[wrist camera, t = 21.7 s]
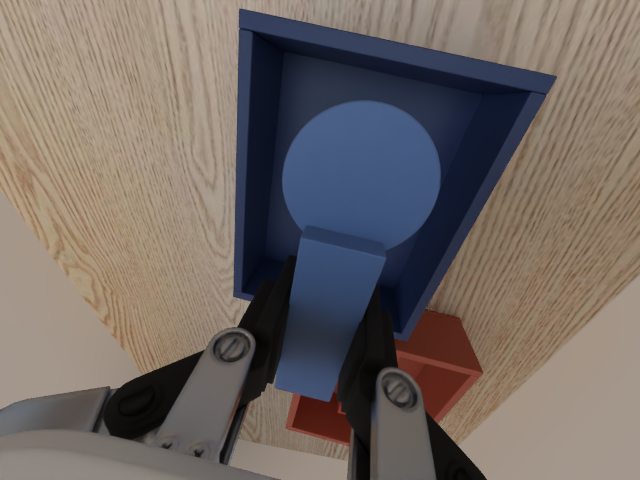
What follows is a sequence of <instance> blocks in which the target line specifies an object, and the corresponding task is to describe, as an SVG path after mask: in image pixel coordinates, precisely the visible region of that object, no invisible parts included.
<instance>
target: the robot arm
mask: <svg viewBox="0 0 640 480" xmlns="http://www.w3.org/2000/svg"><path fill="white" fill-rule="evenodd" d="M296 261H297V256H293V255H289V256H288V258H287V260H286V262H285V264H284V266H283V269H282V271H281V273H280V275H279V277H278V279H277V281H276V282H274V281H270V280H266V279H264V280H263V281H262V283H261V285H260V287H259V288H258V290H257V292H256V294H255V296H254V298H253V299H252V301H251V303H250V305H249V307H248V308H247V310H246V312H245V314H244V316H243V318H242V319H241V321H240V323H239V325H238V327H232V328H227V329H224V330H222V331H220V332H218V333H217V334H216V335H214V337H213V338H212V339H211V340H210V342H209V344H208V345H207V347H206V349H205V350H203V351H201V352H198V353H196V354H193V355H191V356H189V357H186V358H184V359H181V360H179V361H176V362H174V363H172V364H169V365H167V366H164V367H162V368H159V369H157V370H154V371H152V372H150V373H147V374H145V375H142V376H140V377H138V378H135V379H133V380H131V381H129V382H127V383H125V384H124V385H123V386H122V387H120V388H117V389H110V386H108V387H101V388H95V389H88V390H82V391H76V392H70V393H63V394H56V395H50V396H43V397H37V398H30V399H26V400H22V401H18V402H15V403H13V404H11V405H9V406H7V407H5V408H3V409H1V410H0V480H279V479H276V478H272V477H268V476H264V475H260V474H257V473H254V472H250V471H246V470H243V469H239V468H235V467H231V466H230V463H231V459H232V456H233V453H234V450H235V447H236V444H237V441H238V438H239V435H240V432H241V429H242V426H243V423H244V419H245V416H246V413H247V410H248V407H249V404H250V402H251V401H252V400H254V399H256V398H257V397H259V396H260V395H261V392H262V391H263V392H264V391H265V388H266V385H267V383H270V384H272V383H273V381H274V378H275V374H276V371H277V368H278V365H279V362H280V358H281V352H282V346H283V341H284V335H285V330H286V324H287V319H288V313H289V308H290V304H289V301H290V295H291V290H292V284H293V278H294V272H295V267H296ZM337 401H339V402H341V412H343V413H346V420H347V421H348V422H349V424H350V425H351V431H350V445H349V459H348V473H347V480H487V479H486V478H485V476H484V475H483V474H482V473H481V471H480V470H479V469H478V468H477V467H476V466H475V464H474V463H473V462H472V461H471V460H470V459H469V458H468V457H467V456H466V455H465V453H464V452H463V451H462V450H461V449H460V448H459V447H458V446H457V445H456V443H455V442H454V441H453V440H452V439H451V438H450V437H449V436H448V435H447V434H446V432H445V431H444V430H443V429H442V428H441V427H440V426H439V425H438V424H437V423H436V421H435V420H434V419H433V418H432V417H431V416H430V415H429V414H428V413H427V412H426V410H425V408H424V402H423V397H422V393H421V390H420V387H419V386H418V384H417V382H416V381H415V380H414V379H413V378H412V376H411V375H409V374H408V373H407V372H405V371H404V370H402V369H399V368H398V361H397V354H396V347H395V340H394V333H393V326H392V319H391V313H390V311H389V310H386V309H382V308H381V306H380V295H379V285H378V281H377V283H376V286H375V288H374V291H373V293H372V296H371V298H370V301H369V303H368V306H367V308H366V311H365V314H364V316H363V319H362V321H361V322H359V325H358V327H357V330H356V332H355V335H354V337H353V340H352V343H351V345H350V348H349V350H348V353H347V355H346V358H345V360H344V363H343V365H342V368H341V370H340V373H339V377H338V389H337Z"/></svg>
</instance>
